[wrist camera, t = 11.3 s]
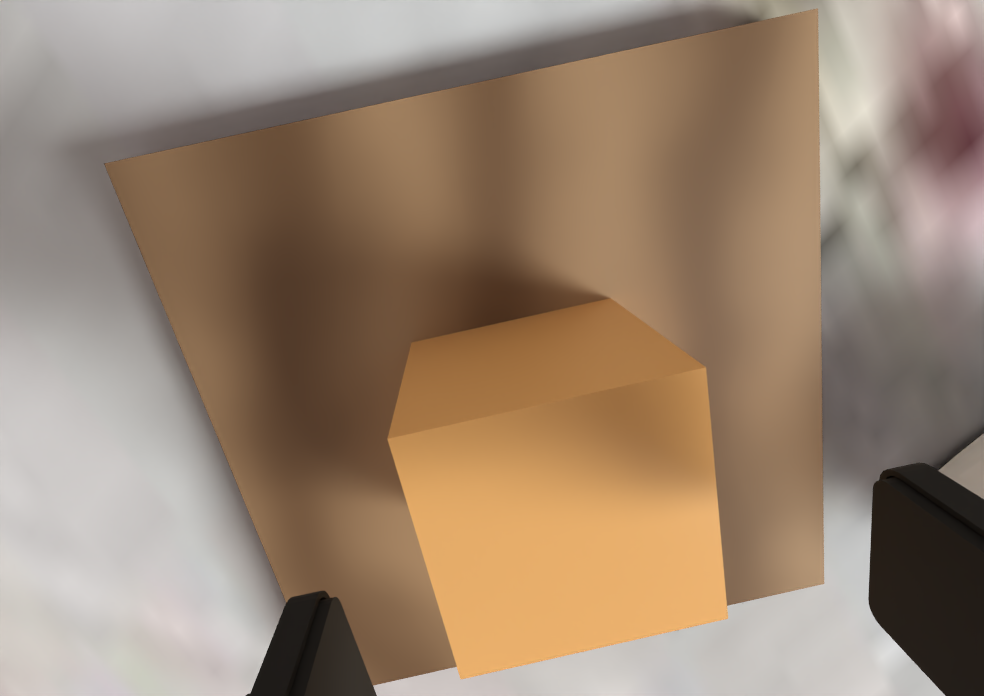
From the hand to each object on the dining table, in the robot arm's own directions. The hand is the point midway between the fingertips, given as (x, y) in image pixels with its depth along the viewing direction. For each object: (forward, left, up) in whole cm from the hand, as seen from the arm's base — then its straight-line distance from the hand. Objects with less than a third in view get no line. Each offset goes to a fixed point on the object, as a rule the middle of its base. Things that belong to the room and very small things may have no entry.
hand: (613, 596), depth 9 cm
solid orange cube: (0, 0, -9) cm, 9 cm away
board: (0, 0, -11) cm, 11 cm away
